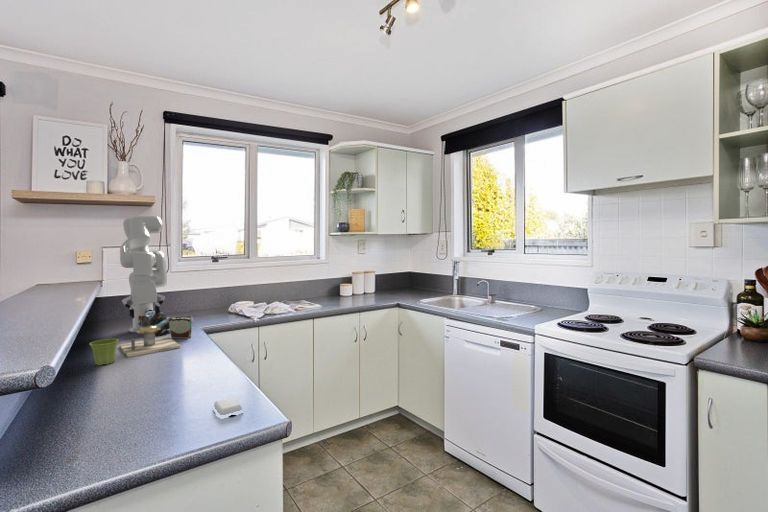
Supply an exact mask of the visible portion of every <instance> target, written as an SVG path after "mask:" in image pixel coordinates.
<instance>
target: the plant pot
mask: <svg viewBox="0 0 768 512" xmlns="http://www.w3.org/2000/svg"><path fill="white" fill-rule="evenodd" d="M118 341H119V339H118V338H105V339H99V340H95V341H94V340H93V341H92V342H89V344H88V345H89V346H90V347H91V348H90V349H92V353H93V357H94V358H93V359H94V363H95V365H96V364H97V365H96V366H101V365H103V364H107V365H110V364H109V363H111V364H113V363H114V362H115V360H116V353H117V352H116V349H117V345H118ZM112 362H113V363H112Z"/></svg>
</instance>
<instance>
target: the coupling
mask: <svg viewBox="0 0 768 512" xmlns="http://www.w3.org/2000/svg"><path fill="white" fill-rule="evenodd" d="M157 330H161V328H160V327H158V328H157V326H155V325H151V326H149V315H142V316H141V330H137V332H136V333H137V334H143V333H152V332H156V331H157Z"/></svg>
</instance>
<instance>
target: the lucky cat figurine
mask: <svg viewBox="0 0 768 512" xmlns="http://www.w3.org/2000/svg"><path fill="white" fill-rule="evenodd" d="M159 311H160V313H158V315H155V310H154V309H153V310H148V312H146V313H145V314H144V315H149V326H151V325H155V326H157V328H158V327H160V328H161V330H157V331H156V332H155V337H157V336H158V335H159V336H161V335H162V334H164V333H165V332H166V331H168V329H169V330H170V326H169V322H168V318H169V317H170V316H166V314H165V313H164V312H161V309H159ZM138 325H139V326H140V327H141V316H138ZM159 336H158V337H159Z"/></svg>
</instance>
